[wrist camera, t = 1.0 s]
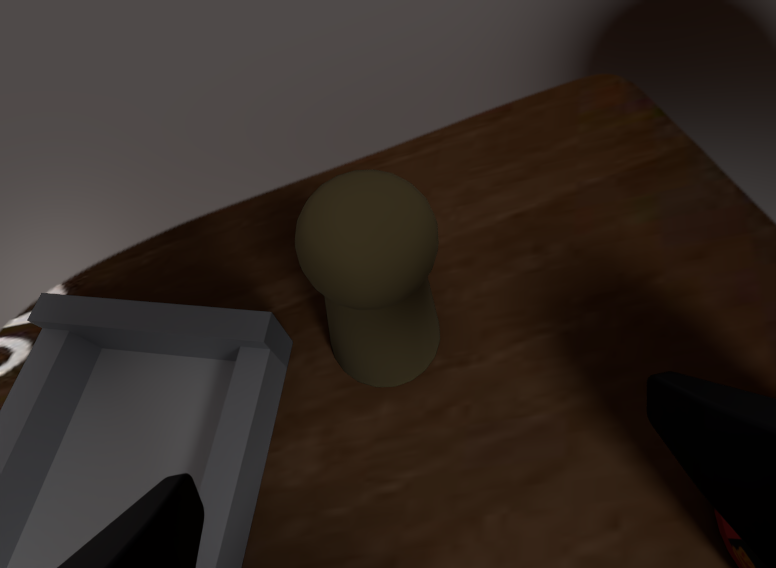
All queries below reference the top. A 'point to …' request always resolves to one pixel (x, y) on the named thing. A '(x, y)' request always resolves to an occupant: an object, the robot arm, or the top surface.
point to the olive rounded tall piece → (373, 273)
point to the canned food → (737, 546)
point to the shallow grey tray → (136, 421)
